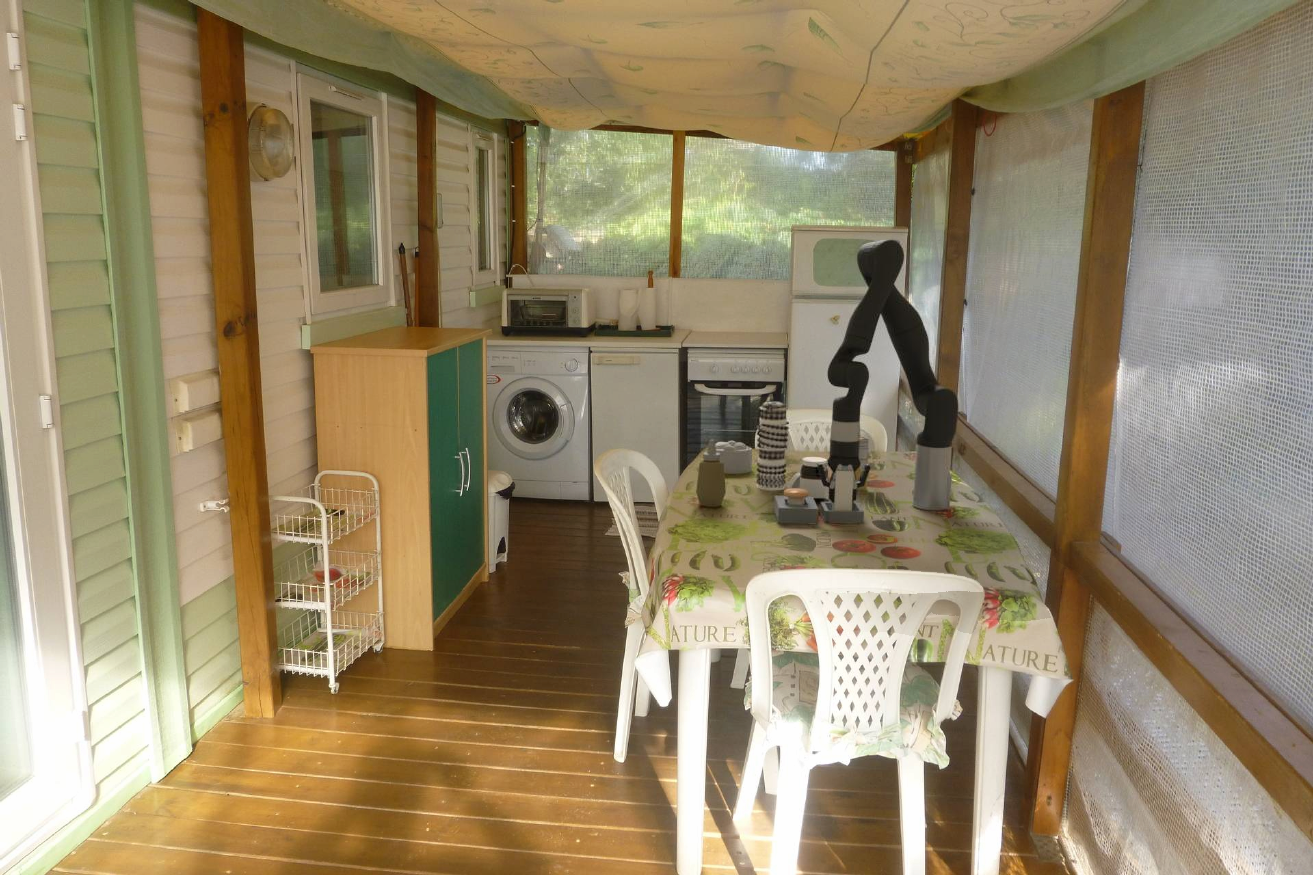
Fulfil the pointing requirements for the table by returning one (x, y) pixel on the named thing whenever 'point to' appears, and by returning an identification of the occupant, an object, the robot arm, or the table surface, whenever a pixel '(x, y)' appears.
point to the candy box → (862, 460)
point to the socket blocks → (815, 512)
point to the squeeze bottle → (711, 478)
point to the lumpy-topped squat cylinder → (735, 457)
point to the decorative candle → (772, 446)
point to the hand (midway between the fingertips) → (842, 501)
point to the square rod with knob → (843, 490)
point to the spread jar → (810, 479)
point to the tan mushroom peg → (796, 496)
